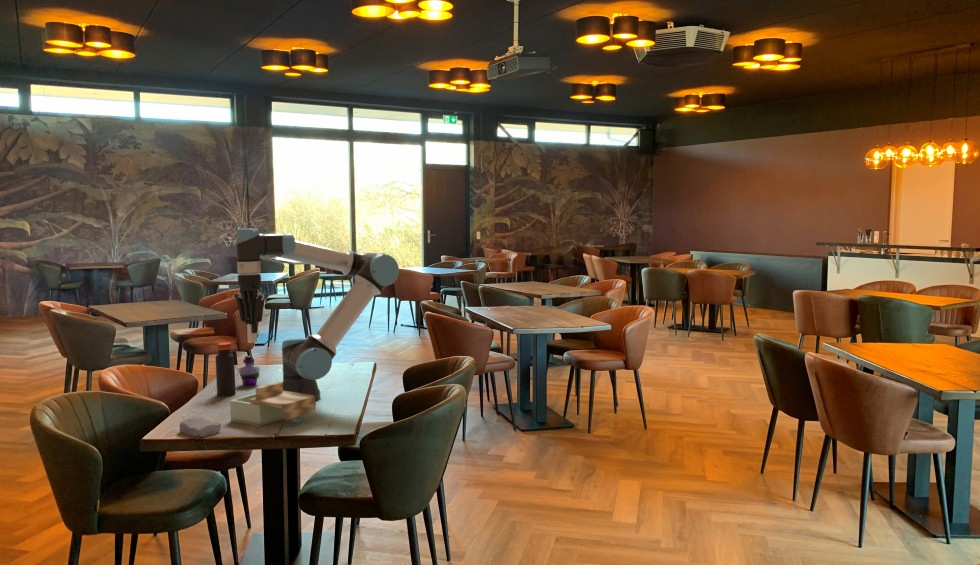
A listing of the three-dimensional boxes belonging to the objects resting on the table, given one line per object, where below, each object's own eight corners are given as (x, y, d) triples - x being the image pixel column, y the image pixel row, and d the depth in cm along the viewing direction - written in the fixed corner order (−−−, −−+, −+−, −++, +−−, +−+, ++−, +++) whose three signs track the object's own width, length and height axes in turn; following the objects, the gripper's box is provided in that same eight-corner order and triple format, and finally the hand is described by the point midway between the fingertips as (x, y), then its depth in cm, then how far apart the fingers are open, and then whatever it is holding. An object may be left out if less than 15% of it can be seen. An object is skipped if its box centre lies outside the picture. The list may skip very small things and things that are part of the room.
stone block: (204, 431, 236) (175, 432, 228) (206, 416, 236) (178, 417, 228) (224, 439, 228) (195, 440, 220) (227, 424, 229) (198, 424, 221)
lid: (281, 404, 248) (280, 380, 247) (316, 410, 240) (315, 385, 239) (249, 414, 236) (248, 388, 235) (285, 420, 228) (284, 394, 227)
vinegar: (218, 393, 280) (216, 342, 279) (236, 391, 282) (234, 341, 280) (216, 397, 274) (213, 345, 272) (234, 395, 275) (232, 344, 274)
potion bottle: (258, 386, 291) (257, 357, 290) (236, 387, 289) (235, 358, 288) (262, 382, 299) (261, 353, 298) (240, 382, 298) (239, 354, 297)
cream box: (263, 411, 252) (262, 391, 252) (291, 416, 246) (291, 396, 245) (230, 420, 240) (230, 400, 240) (260, 426, 233) (259, 405, 233)
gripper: (227, 274, 243) (230, 342, 245) (254, 275, 237) (257, 345, 239) (244, 272, 250) (247, 339, 252) (271, 273, 243) (274, 341, 245)
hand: (252, 342), depth 245 cm, fingers closed
